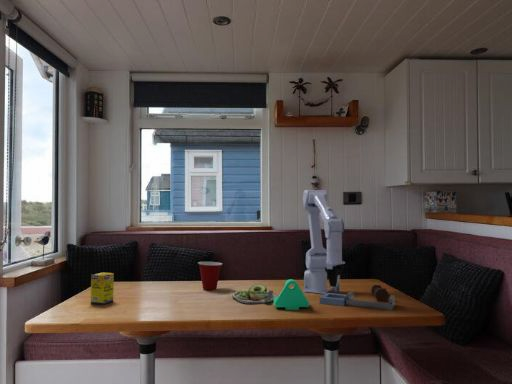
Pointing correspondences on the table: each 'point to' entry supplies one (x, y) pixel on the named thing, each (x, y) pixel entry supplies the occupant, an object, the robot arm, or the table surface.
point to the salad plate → (255, 295)
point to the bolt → (380, 293)
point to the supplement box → (102, 288)
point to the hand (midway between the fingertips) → (334, 285)
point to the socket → (333, 299)
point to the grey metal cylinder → (337, 288)
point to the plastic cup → (209, 274)
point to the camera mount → (291, 297)
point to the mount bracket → (370, 304)
